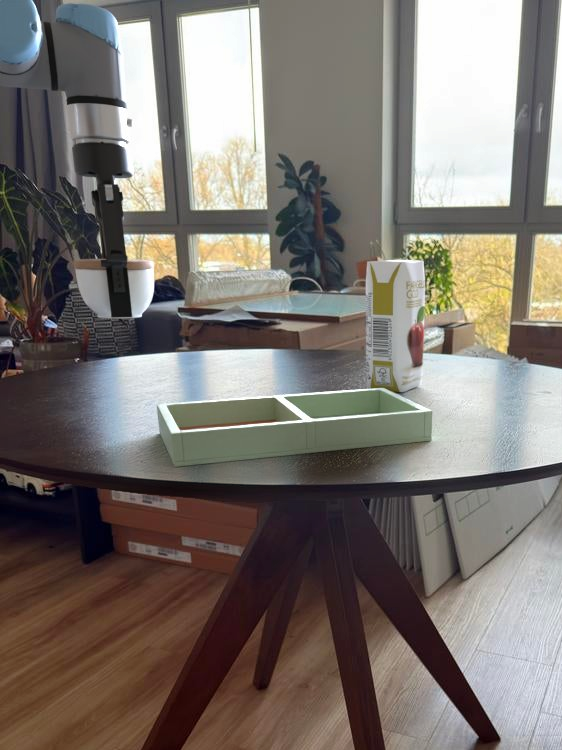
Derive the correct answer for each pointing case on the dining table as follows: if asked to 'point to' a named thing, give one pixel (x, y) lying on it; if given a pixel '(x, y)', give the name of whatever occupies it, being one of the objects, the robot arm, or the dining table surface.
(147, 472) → the dining table surface
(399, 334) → the juice carton
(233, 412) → the divided tray
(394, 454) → the dining table surface
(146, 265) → the trinket box
